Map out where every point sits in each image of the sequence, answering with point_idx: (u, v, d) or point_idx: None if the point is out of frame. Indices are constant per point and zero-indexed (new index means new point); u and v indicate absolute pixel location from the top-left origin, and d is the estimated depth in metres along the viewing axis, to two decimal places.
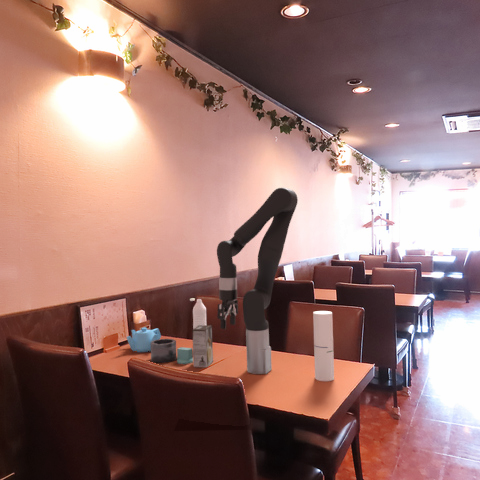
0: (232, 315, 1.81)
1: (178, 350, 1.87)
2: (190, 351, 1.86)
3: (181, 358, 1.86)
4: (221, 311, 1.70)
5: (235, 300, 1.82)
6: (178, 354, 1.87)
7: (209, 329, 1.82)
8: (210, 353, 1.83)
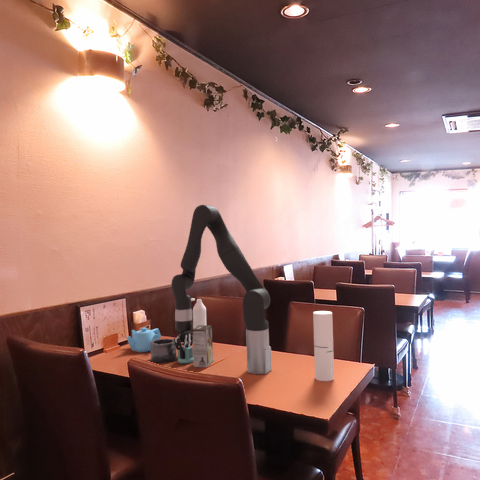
0: None
1: None
2: (190, 350, 1.86)
3: None
4: (178, 344, 1.82)
5: None
6: (178, 353, 1.87)
7: (209, 329, 1.82)
8: (210, 353, 1.83)
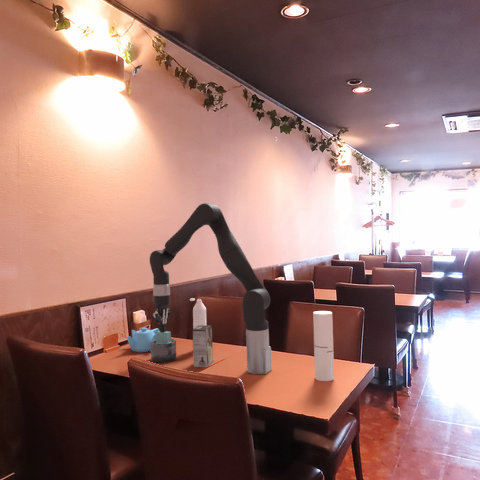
0: None
1: (157, 333, 1.92)
2: (168, 334, 1.91)
3: (160, 341, 1.91)
4: (157, 319, 1.88)
5: (170, 309, 1.97)
6: (157, 337, 1.92)
7: (209, 329, 1.82)
8: (210, 353, 1.83)
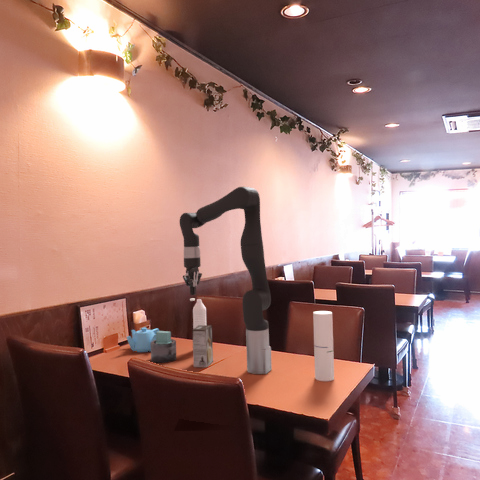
0: None
1: (157, 333, 1.92)
2: (168, 334, 1.91)
3: (160, 341, 1.91)
4: (188, 281, 1.87)
5: (199, 273, 1.96)
6: (157, 337, 1.92)
7: (209, 329, 1.82)
8: (210, 353, 1.83)
